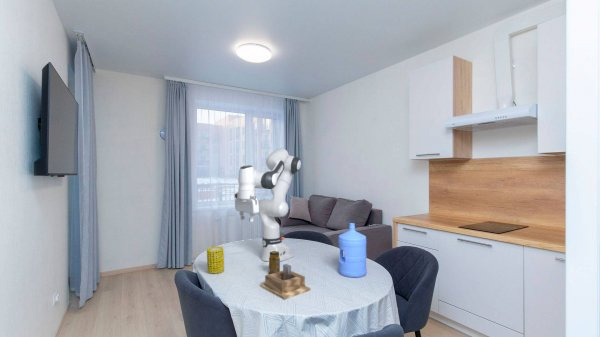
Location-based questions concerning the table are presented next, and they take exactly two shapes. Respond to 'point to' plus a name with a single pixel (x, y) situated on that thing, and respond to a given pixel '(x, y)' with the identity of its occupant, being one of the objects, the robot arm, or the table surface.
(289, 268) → the bracket
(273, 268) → the condiment
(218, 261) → the food
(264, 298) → the table surface
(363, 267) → the water jug
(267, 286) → the box
